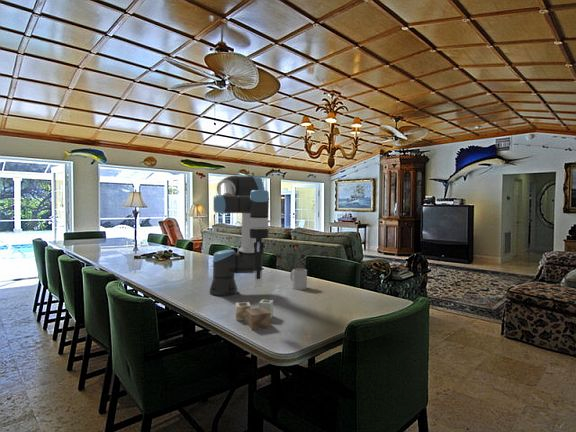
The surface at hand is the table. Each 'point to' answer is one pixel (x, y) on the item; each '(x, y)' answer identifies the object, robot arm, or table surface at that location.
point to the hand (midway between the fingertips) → (258, 286)
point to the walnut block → (258, 318)
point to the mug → (299, 278)
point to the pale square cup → (267, 305)
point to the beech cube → (241, 310)
